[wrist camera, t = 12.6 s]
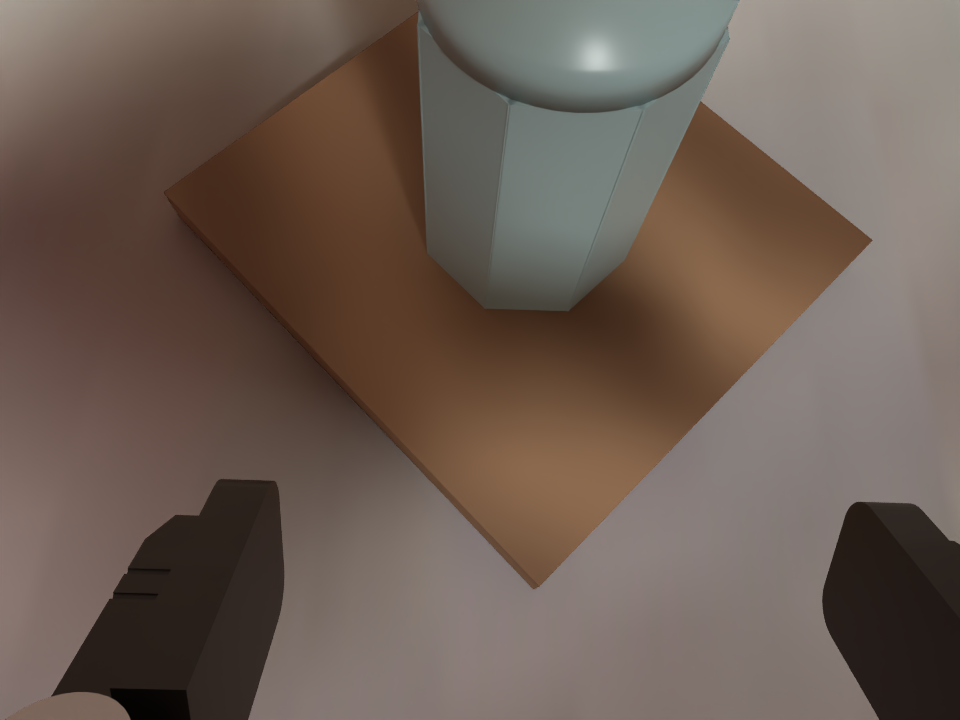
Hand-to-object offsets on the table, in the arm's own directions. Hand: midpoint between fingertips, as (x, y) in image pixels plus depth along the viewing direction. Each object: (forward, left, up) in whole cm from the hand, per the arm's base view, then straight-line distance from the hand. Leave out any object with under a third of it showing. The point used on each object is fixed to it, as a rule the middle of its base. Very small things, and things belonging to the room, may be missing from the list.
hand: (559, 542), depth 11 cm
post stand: (-7, -7, -8) cm, 13 cm away
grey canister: (-7, -6, -7) cm, 12 cm away
